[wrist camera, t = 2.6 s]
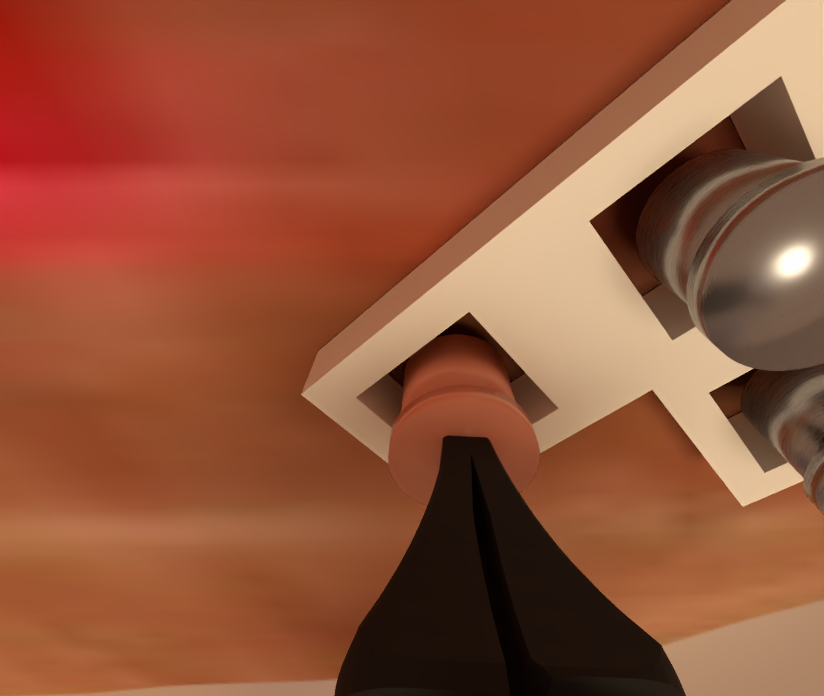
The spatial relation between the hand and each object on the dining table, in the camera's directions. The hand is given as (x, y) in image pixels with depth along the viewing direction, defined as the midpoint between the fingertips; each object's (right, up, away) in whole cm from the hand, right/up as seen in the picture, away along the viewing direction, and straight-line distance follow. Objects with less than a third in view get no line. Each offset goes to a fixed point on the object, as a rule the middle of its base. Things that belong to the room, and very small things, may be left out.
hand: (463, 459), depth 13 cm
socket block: (+6, +3, +5) cm, 8 cm away
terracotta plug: (0, +2, +4) cm, 4 cm away
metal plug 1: (+7, +7, -1) cm, 10 cm away
